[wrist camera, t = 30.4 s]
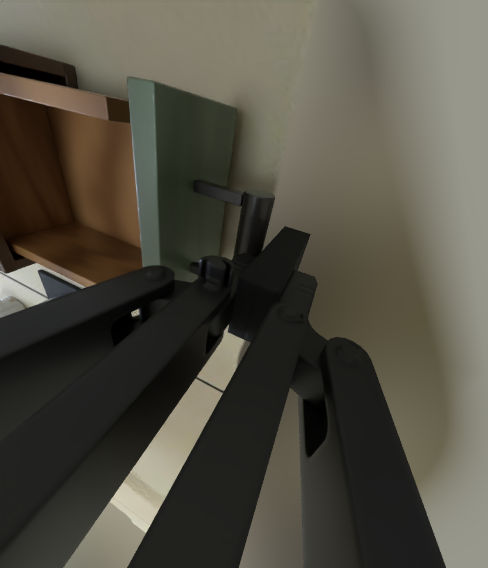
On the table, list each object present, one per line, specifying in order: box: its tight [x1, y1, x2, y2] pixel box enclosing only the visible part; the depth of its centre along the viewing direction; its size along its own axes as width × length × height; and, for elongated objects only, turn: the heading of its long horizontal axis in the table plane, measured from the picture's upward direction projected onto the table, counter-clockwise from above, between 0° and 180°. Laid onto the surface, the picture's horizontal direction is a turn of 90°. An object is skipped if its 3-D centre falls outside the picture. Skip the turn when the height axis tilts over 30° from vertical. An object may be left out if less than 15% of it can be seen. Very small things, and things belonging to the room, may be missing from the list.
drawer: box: [0, 72, 275, 287], centre depth 15 cm, size 20×12×7 cm, turn 80°
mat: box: [38, 270, 80, 299], centre depth 35 cm, size 12×12×1 cm
